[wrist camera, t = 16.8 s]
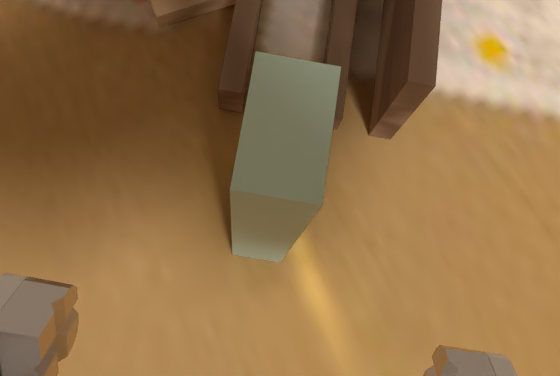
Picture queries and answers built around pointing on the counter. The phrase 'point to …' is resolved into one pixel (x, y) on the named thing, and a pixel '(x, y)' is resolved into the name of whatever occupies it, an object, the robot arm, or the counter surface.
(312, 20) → the counter surface
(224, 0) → the oak offcut low
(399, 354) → the counter surface
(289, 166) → the sage foam brick
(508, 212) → the counter surface
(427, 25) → the walnut rack
